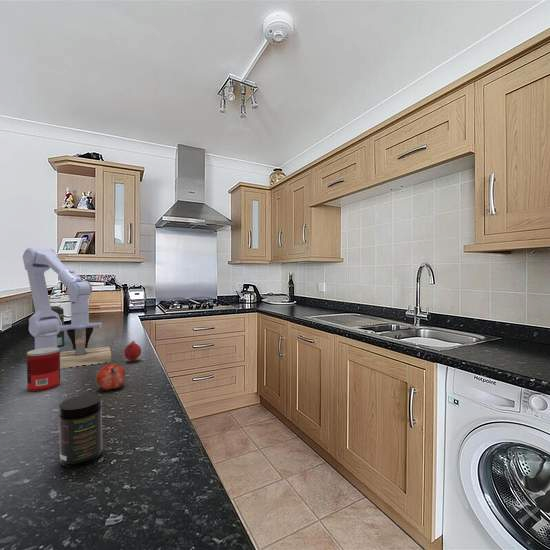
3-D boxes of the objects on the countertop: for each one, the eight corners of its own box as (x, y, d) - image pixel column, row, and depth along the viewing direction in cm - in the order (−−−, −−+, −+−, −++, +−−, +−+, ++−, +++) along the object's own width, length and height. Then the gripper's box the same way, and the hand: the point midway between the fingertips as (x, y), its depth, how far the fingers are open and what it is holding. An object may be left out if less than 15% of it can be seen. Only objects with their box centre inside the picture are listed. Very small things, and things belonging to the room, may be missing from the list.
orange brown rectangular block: (75, 357, 120) (75, 338, 120) (85, 356, 122) (85, 337, 122) (75, 360, 116) (75, 341, 116) (85, 359, 117) (85, 340, 117)
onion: (134, 364, 115) (134, 342, 115) (120, 363, 116) (120, 342, 116) (144, 359, 121) (144, 339, 121) (131, 359, 122) (130, 338, 122)
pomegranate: (94, 395, 91) (93, 383, 84) (99, 371, 96) (98, 358, 89) (122, 394, 94) (123, 382, 87) (125, 371, 99) (126, 358, 92)
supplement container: (110, 452, 59) (110, 397, 59) (74, 473, 53) (73, 412, 53) (88, 444, 62) (87, 392, 62) (51, 463, 56) (50, 405, 55)
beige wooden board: (50, 361, 120) (50, 353, 120) (109, 353, 130) (108, 346, 130) (46, 371, 108) (46, 362, 108) (111, 361, 118) (111, 354, 118)
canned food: (66, 383, 95) (65, 348, 95) (39, 393, 88) (38, 354, 88) (48, 380, 98) (48, 346, 98) (20, 390, 90) (20, 352, 90)
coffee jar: (43, 345, 146) (42, 306, 146) (63, 342, 151) (62, 304, 151) (44, 349, 138) (43, 307, 138) (65, 346, 143) (64, 306, 143)
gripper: (56, 315, 111) (56, 353, 112) (102, 312, 119) (102, 347, 119) (57, 313, 117) (58, 349, 118) (101, 310, 125) (101, 344, 125)
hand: (80, 348), depth 119 cm, fingers closed on orange brown rectangular block, 3 cm apart
